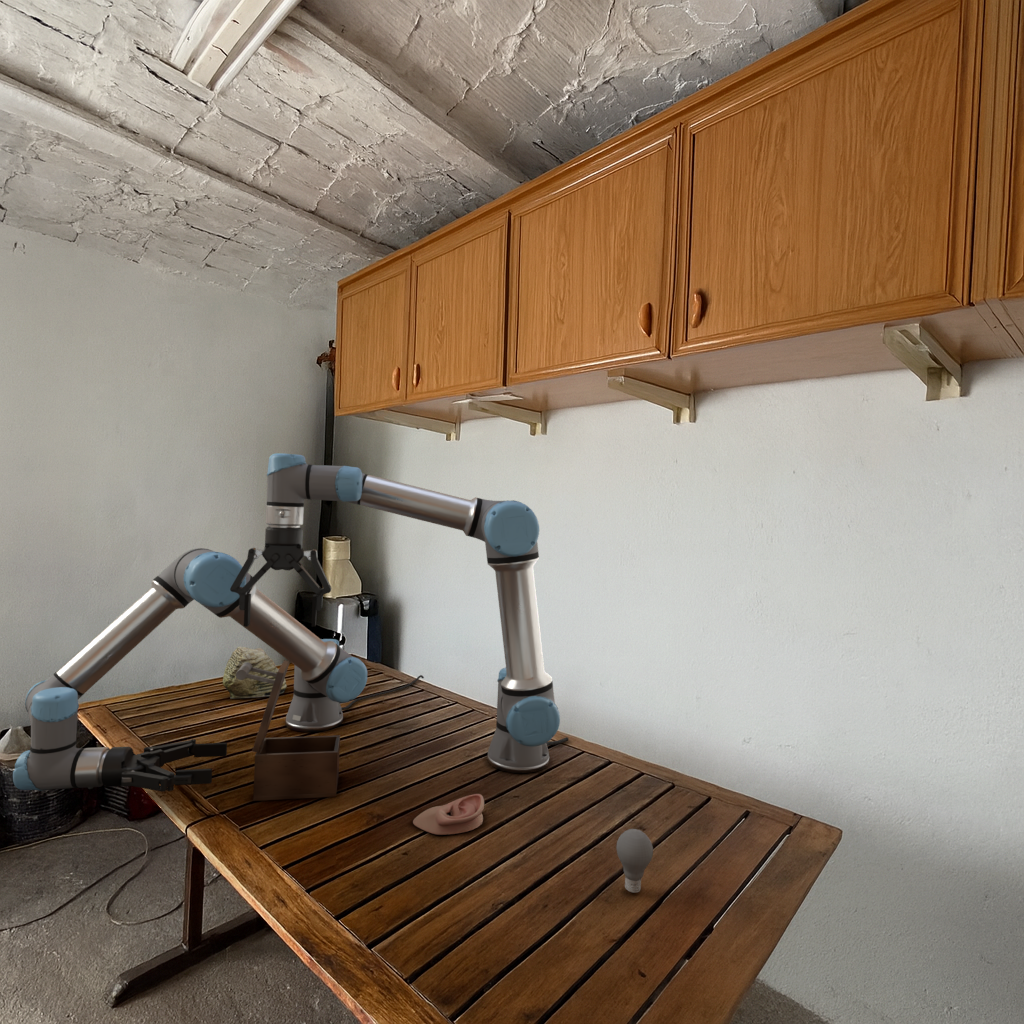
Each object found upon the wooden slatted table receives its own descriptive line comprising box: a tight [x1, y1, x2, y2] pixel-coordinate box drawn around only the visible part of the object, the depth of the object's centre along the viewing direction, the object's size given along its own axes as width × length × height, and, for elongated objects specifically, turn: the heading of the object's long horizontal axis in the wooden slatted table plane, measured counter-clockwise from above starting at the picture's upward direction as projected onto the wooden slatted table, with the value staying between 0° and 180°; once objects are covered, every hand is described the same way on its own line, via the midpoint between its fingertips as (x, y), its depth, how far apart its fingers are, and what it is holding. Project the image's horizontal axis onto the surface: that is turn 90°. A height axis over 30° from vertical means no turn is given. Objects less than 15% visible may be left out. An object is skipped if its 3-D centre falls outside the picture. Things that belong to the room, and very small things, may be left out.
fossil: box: [222, 646, 288, 699], centre depth 198 cm, size 9×18×15 cm, turn 132°
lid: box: [236, 659, 291, 753], centre depth 135 cm, size 17×10×9 cm
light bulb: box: [615, 828, 654, 894], centre depth 106 cm, size 6×6×10 cm
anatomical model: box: [412, 793, 485, 836], centre depth 126 cm, size 13×4×12 cm
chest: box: [252, 734, 341, 802], centre depth 137 cm, size 16×10×10 cm, turn 102°
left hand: (219, 762), depth 133 cm, fingers open, 13 cm apart
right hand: (280, 625), depth 135 cm, fingers open, 13 cm apart
